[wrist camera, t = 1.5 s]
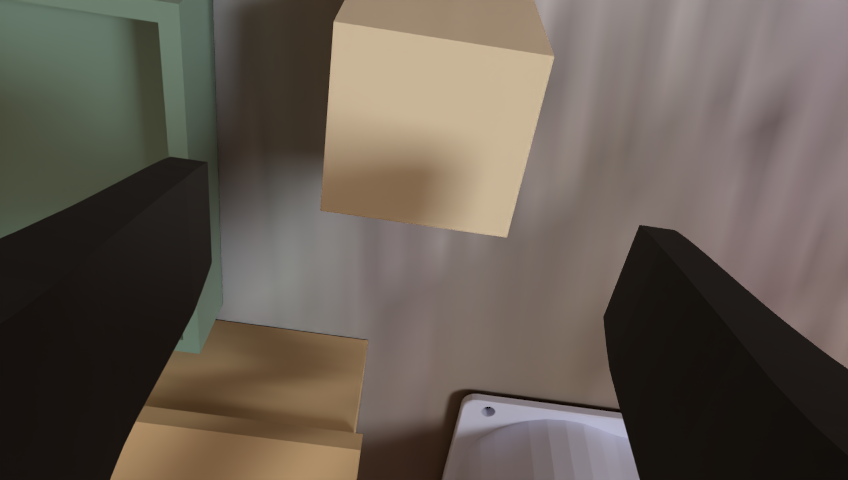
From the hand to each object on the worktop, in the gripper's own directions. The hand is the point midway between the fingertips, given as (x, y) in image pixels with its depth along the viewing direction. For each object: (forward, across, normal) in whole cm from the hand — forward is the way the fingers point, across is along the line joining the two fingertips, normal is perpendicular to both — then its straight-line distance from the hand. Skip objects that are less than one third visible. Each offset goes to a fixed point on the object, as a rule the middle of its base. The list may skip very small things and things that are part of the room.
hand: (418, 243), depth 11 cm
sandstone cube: (+9, 0, 0) cm, 9 cm away
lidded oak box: (+8, +5, +13) cm, 16 cm away
